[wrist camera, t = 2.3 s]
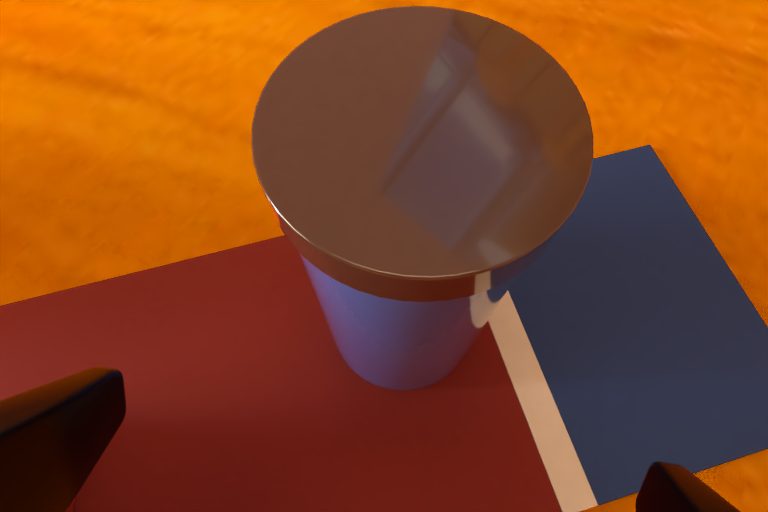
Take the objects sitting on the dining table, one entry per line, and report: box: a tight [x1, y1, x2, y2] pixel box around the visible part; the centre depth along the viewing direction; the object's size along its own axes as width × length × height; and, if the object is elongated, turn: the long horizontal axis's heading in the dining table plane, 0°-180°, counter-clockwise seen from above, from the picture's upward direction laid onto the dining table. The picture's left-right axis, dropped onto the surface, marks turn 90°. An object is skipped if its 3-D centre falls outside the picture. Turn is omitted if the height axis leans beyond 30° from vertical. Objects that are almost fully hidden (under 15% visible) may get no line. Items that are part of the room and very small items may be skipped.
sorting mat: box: [0, 145, 768, 512], centre depth 20 cm, size 14×38×1 cm, turn 106°
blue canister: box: [251, 6, 593, 390], centre depth 15 cm, size 7×7×13 cm
